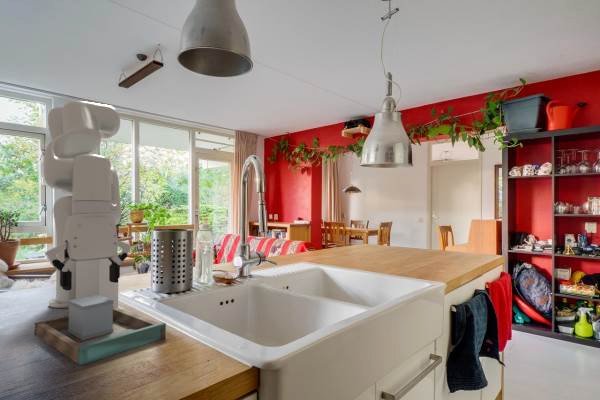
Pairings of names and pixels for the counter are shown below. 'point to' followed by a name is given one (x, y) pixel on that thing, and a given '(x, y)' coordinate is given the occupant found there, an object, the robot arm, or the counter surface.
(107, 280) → the milk carton
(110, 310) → the grey block
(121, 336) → the bay
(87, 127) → the robot arm
